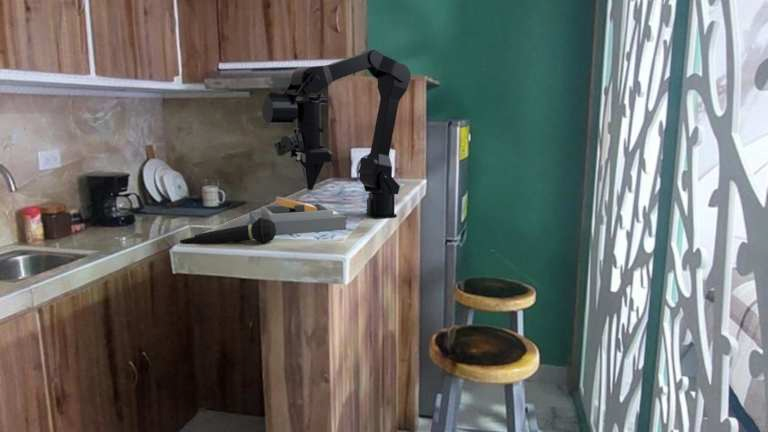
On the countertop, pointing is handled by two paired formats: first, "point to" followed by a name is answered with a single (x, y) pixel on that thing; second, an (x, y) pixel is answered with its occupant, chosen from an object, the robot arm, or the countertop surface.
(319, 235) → the countertop surface
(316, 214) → the switch panel
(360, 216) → the countertop surface
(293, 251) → the countertop surface
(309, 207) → the plate
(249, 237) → the microphone
